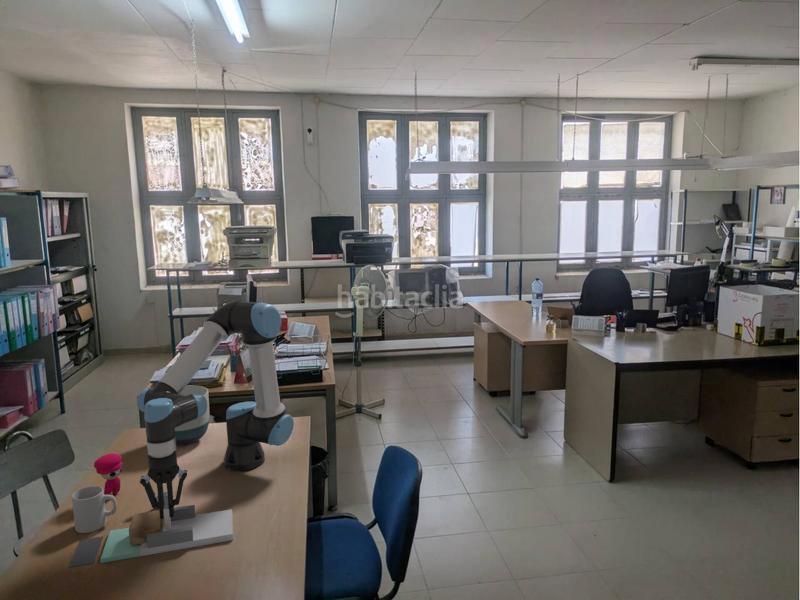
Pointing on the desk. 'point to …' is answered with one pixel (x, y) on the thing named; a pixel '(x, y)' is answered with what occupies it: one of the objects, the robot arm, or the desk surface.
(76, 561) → the mat
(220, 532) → the plate
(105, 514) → the mug
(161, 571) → the desk surface
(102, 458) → the toy
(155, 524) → the block
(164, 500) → the lighter
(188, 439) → the planter
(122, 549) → the tile
